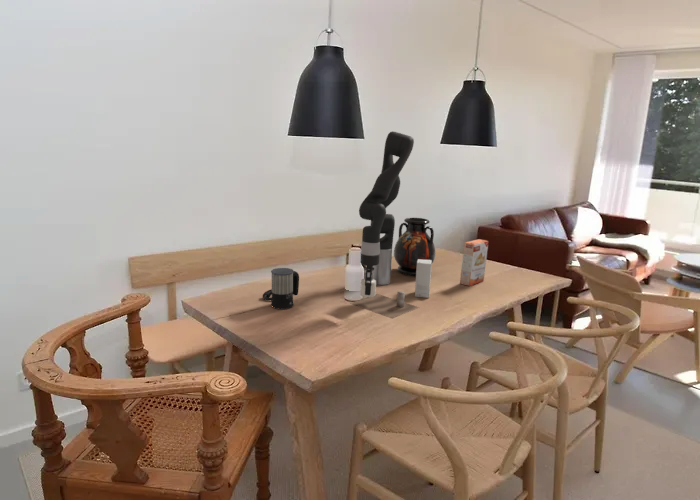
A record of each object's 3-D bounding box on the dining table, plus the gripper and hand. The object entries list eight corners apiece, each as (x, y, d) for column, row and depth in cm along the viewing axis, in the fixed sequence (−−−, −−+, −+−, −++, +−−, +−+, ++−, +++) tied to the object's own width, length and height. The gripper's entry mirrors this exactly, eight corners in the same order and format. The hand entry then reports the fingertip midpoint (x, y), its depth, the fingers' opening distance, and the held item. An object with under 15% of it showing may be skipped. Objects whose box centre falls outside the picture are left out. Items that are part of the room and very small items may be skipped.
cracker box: (470, 286, 228) (474, 244, 223) (459, 283, 232) (463, 242, 227) (484, 281, 238) (489, 240, 233) (474, 278, 242) (478, 238, 237)
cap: (357, 294, 194) (358, 280, 192) (367, 291, 198) (367, 277, 196) (368, 298, 190) (369, 284, 188) (378, 294, 194) (379, 281, 192)
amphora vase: (385, 273, 245) (388, 219, 239) (403, 264, 263) (406, 214, 257) (423, 280, 235) (428, 225, 228) (440, 271, 252) (444, 219, 246)
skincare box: (428, 298, 209) (431, 264, 206) (413, 296, 210) (416, 262, 207) (429, 292, 217) (432, 259, 214) (415, 291, 218) (417, 258, 215)
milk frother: (287, 311, 188) (288, 275, 184) (251, 305, 192) (251, 270, 188) (301, 299, 201) (302, 266, 198) (267, 295, 205) (267, 262, 202)
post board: (349, 306, 195) (350, 289, 193) (377, 297, 208) (378, 280, 206) (392, 322, 181) (393, 303, 179) (419, 310, 194) (420, 293, 192)
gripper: (379, 257, 182) (376, 298, 186) (380, 248, 196) (377, 286, 200) (359, 256, 183) (357, 297, 187) (361, 247, 197) (359, 285, 201)
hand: (368, 291), depth 194 cm, fingers closed on cap, 6 cm apart
